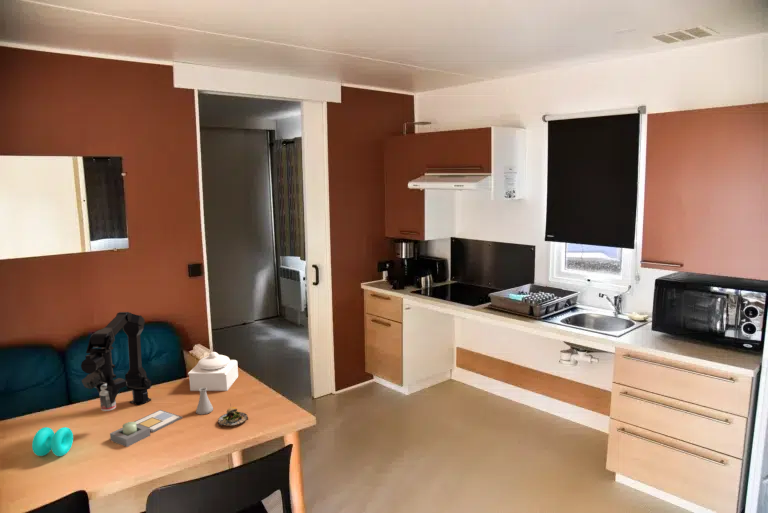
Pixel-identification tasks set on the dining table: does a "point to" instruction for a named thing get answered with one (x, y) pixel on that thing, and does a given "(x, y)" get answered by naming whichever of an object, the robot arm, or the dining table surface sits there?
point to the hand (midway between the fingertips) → (108, 401)
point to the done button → (129, 428)
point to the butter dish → (213, 373)
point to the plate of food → (232, 417)
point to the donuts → (52, 441)
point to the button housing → (130, 436)
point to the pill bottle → (106, 399)
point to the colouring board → (158, 420)
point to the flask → (204, 403)
